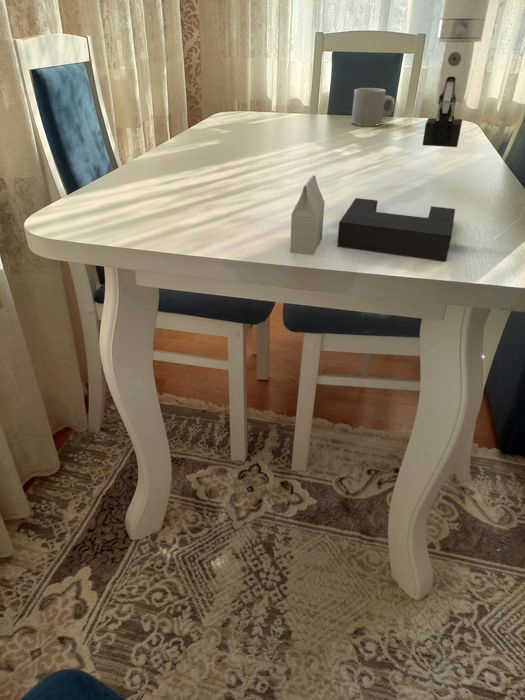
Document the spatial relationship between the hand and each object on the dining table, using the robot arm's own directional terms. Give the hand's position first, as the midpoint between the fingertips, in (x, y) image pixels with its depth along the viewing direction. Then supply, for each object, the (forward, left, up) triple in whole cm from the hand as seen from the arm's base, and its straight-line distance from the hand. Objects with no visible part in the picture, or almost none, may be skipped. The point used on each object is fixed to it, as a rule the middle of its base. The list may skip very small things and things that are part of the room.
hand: (441, 139), depth 97 cm
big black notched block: (+3, +30, -10) cm, 31 cm away
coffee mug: (+24, -69, -10) cm, 74 cm away
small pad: (0, 0, -1) cm, 1 cm away
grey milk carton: (+16, +38, -10) cm, 42 cm away
